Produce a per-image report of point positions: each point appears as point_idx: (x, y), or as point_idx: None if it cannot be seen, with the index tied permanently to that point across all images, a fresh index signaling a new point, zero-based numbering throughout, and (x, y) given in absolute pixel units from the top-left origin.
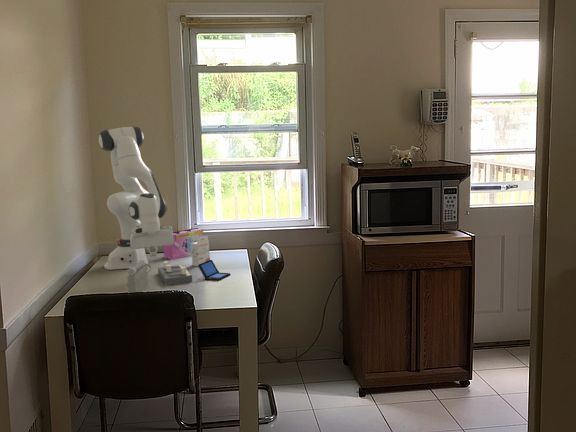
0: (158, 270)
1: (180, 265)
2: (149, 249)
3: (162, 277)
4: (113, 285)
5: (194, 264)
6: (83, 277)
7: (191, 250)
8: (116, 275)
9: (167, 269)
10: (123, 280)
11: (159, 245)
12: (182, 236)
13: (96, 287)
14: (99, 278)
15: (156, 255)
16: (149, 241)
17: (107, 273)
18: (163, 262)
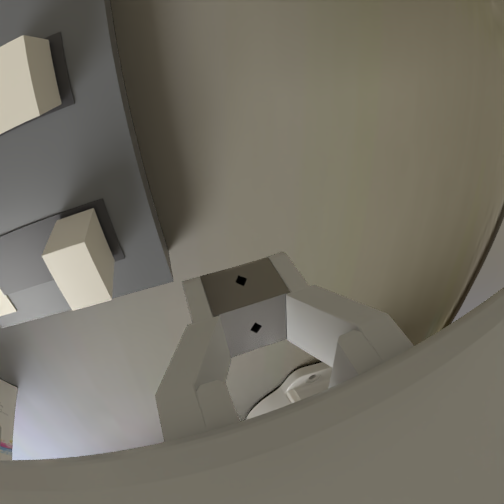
0: (164, 247)
1: (3, 311)
2: (356, 331)
3: (110, 15)
4: (445, 35)
5: (3, 385)
6: (484, 244)
7: (11, 459)
8: (404, 252)
9: (35, 39)
10: (400, 124)
11: (121, 465)
12: None
13: (492, 49)
14: (462, 214)
15: (183, 282)
16: (472, 488)
17: (419, 291)
18: (109, 288)
